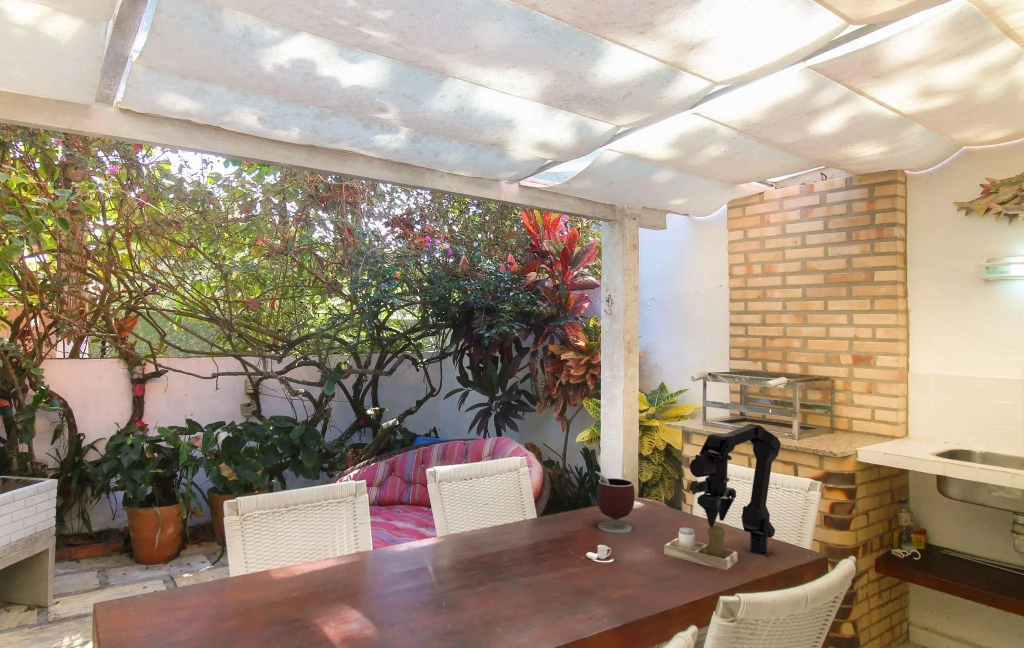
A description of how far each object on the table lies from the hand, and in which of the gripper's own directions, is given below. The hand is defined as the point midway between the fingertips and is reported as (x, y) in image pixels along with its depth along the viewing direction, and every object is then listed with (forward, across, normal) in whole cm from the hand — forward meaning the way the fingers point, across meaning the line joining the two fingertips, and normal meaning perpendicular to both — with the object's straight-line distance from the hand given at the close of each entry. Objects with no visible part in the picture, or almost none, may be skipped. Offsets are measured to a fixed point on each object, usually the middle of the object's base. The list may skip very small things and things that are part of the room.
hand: (716, 523), depth 204 cm
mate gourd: (+13, -11, -43) cm, 46 cm away
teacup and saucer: (+13, +20, -32) cm, 40 cm away
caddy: (+13, 0, -5) cm, 14 cm away
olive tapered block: (+12, 0, 0) cm, 12 cm away
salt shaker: (+12, 0, -10) cm, 16 cm away
